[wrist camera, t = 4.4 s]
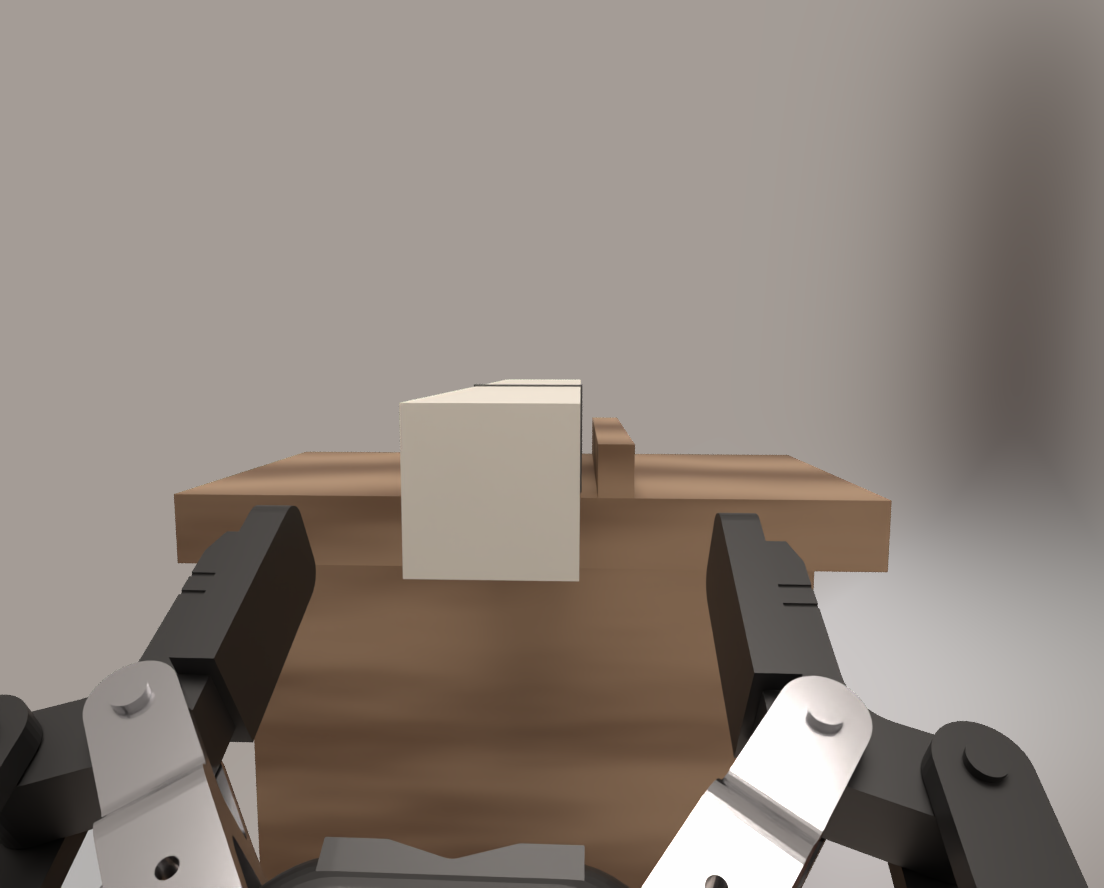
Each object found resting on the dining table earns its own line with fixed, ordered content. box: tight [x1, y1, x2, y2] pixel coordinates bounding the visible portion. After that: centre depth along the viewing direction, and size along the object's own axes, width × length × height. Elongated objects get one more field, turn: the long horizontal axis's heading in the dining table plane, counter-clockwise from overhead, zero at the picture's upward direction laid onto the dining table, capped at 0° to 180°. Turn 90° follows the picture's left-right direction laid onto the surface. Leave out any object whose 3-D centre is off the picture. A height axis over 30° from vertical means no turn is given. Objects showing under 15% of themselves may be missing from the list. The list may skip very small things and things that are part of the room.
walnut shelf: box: [174, 418, 891, 888], centre depth 27 cm, size 10×20×34 cm, turn 88°
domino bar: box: [399, 380, 582, 581], centre depth 21 cm, size 18×3×3 cm, turn 178°
